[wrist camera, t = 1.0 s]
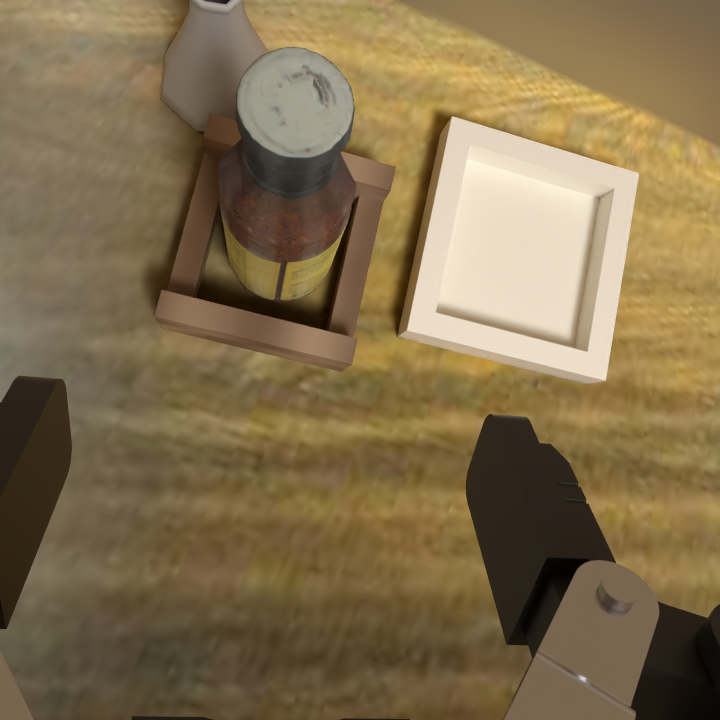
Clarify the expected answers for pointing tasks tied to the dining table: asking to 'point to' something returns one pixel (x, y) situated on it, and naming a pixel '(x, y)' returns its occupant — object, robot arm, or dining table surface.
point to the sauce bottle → (287, 173)
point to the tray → (520, 253)
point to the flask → (209, 61)
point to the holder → (257, 330)
